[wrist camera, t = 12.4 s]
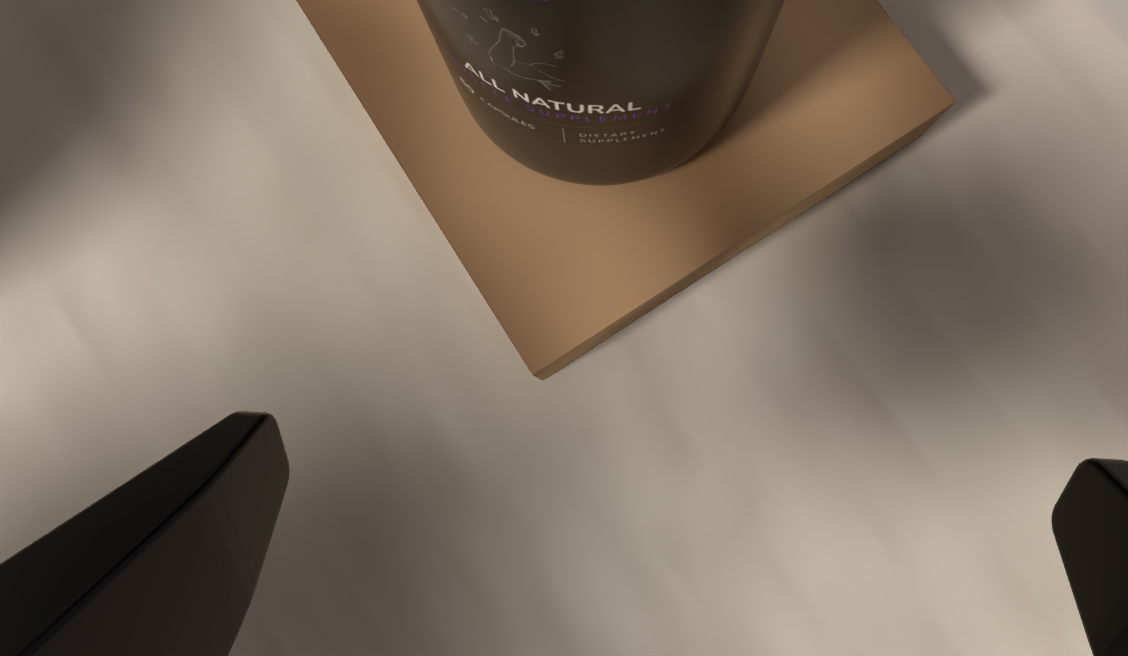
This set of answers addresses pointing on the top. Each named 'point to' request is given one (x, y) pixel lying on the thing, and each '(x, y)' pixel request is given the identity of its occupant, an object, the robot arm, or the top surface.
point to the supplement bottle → (601, 77)
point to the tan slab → (643, 208)
